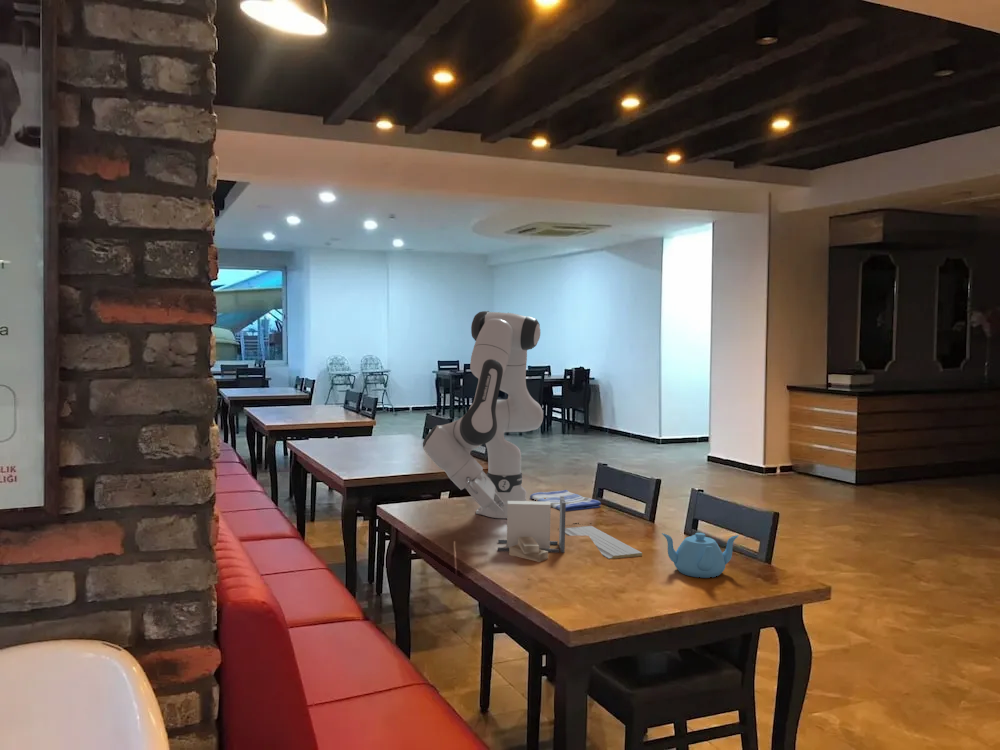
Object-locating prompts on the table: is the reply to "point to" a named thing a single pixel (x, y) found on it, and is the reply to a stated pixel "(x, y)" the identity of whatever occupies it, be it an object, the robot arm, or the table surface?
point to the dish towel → (566, 500)
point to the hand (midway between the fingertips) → (502, 509)
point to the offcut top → (528, 545)
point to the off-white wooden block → (528, 522)
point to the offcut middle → (531, 556)
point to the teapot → (700, 555)
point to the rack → (561, 532)
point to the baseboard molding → (604, 542)
